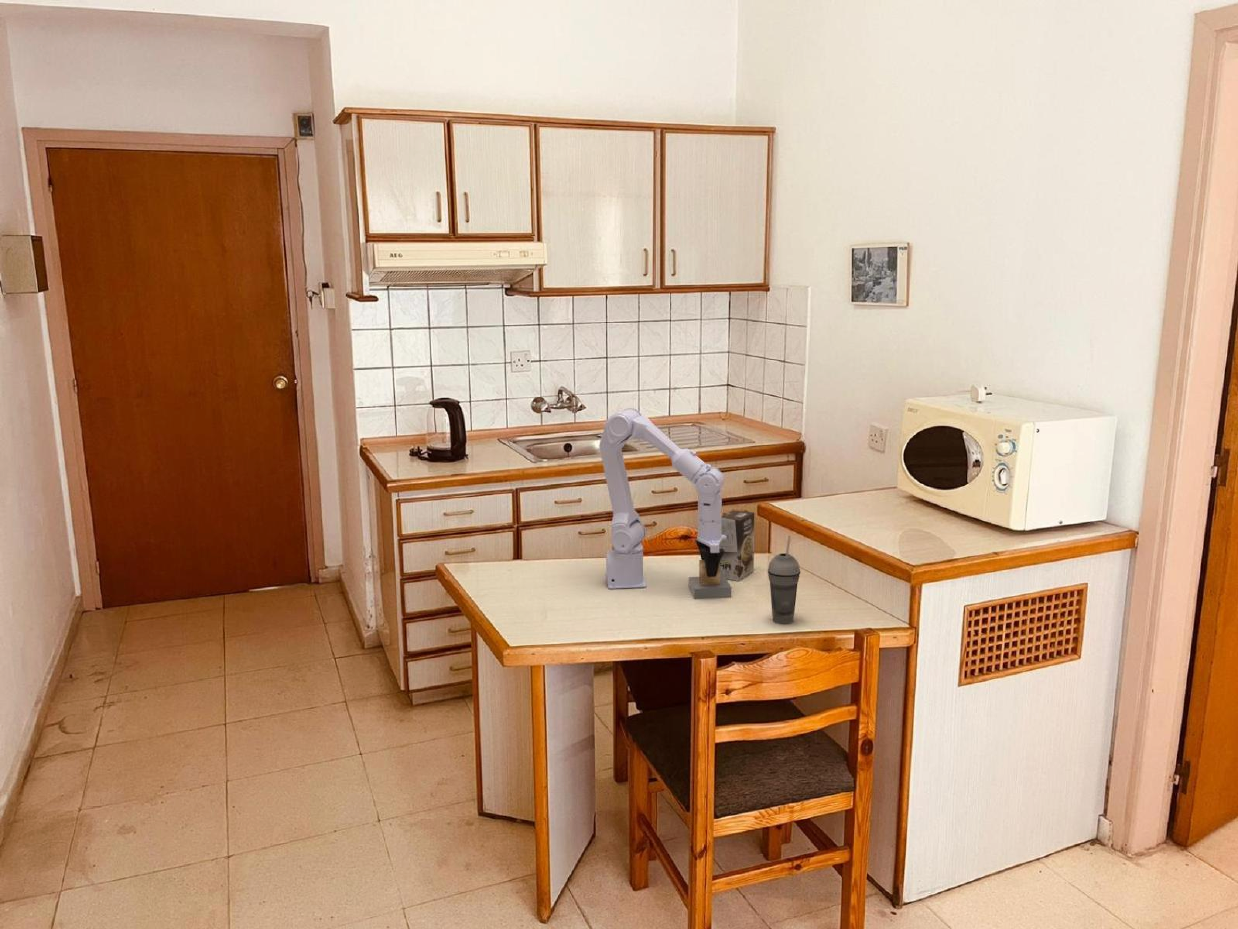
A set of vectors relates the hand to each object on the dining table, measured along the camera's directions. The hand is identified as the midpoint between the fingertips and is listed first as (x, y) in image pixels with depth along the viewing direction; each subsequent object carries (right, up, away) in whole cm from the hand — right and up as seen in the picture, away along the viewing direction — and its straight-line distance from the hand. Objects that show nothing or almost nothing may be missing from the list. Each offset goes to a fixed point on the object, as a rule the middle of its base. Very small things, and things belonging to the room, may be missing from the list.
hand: (709, 572), depth 237 cm
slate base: (0, -5, +1) cm, 5 cm away
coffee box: (+8, -2, +13) cm, 16 cm away
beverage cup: (+15, -9, -18) cm, 25 cm away
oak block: (0, -2, +1) cm, 2 cm away
